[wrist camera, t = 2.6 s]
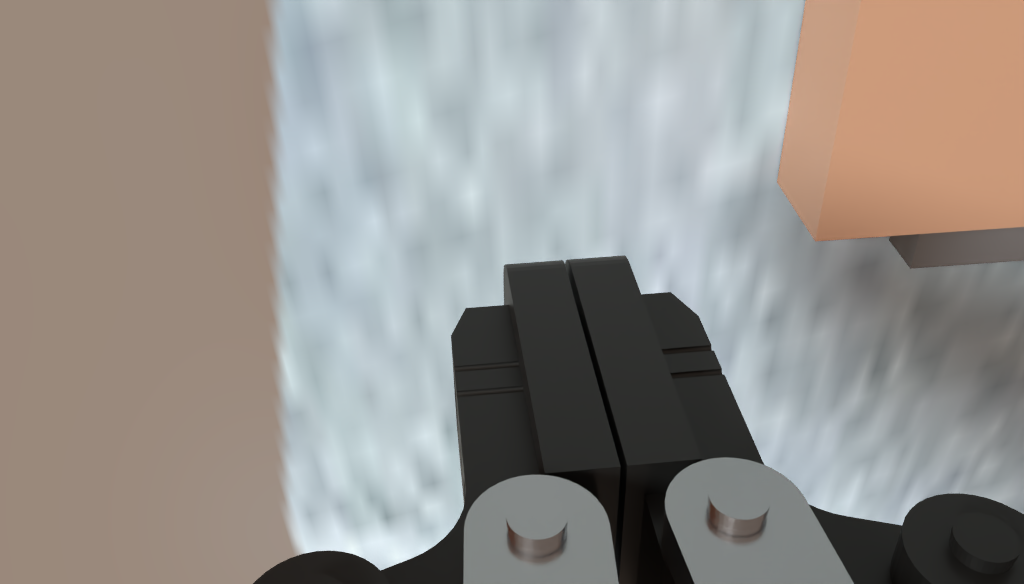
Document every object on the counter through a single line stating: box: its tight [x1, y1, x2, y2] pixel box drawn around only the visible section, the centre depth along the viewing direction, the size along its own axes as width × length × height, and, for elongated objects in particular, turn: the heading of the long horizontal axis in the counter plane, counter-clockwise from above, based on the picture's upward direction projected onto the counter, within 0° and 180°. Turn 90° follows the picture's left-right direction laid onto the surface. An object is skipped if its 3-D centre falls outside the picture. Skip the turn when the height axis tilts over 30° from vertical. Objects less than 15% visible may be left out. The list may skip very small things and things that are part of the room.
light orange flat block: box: [777, 0, 1024, 241], centre depth 20 cm, size 8×7×2 cm
